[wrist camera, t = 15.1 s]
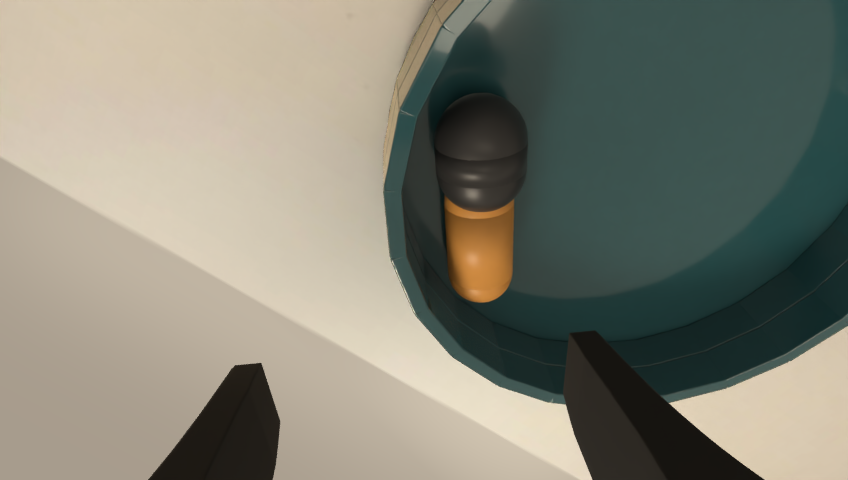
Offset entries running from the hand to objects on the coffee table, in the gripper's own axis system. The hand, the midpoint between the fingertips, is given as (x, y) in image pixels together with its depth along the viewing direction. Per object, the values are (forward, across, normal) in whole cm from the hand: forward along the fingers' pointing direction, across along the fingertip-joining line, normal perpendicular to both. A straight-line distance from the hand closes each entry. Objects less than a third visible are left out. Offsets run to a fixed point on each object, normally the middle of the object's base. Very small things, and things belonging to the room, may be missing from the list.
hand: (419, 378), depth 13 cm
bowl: (+10, -9, 0) cm, 14 cm away
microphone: (+10, -2, +1) cm, 10 cm away
